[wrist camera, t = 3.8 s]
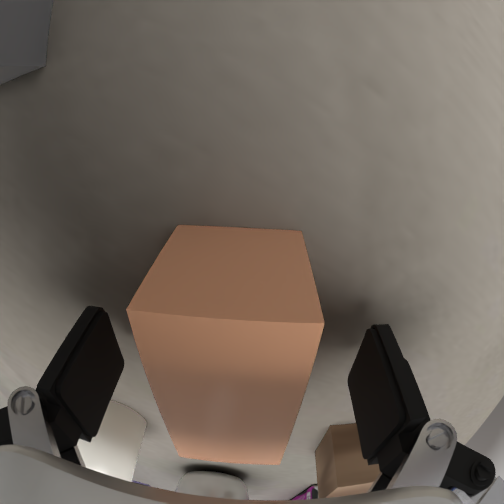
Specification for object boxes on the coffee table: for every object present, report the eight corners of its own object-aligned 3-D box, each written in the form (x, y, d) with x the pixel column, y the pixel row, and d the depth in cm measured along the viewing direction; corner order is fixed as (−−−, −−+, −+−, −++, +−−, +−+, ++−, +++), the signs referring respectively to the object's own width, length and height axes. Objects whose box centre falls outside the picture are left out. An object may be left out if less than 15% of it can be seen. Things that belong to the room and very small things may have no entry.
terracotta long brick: (178, 222, 10) (126, 309, 6) (300, 229, 9) (324, 323, 6) (195, 376, 13) (179, 456, 9) (278, 381, 13) (279, 464, 9)
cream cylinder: (84, 392, 15) (58, 453, 11) (138, 406, 15) (117, 475, 11) (103, 421, 17) (85, 475, 13) (152, 433, 17) (138, 492, 13)
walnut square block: (330, 424, 15) (337, 487, 11) (393, 417, 15) (407, 474, 11) (314, 450, 18) (318, 503, 14) (370, 445, 18) (379, 493, 14)
